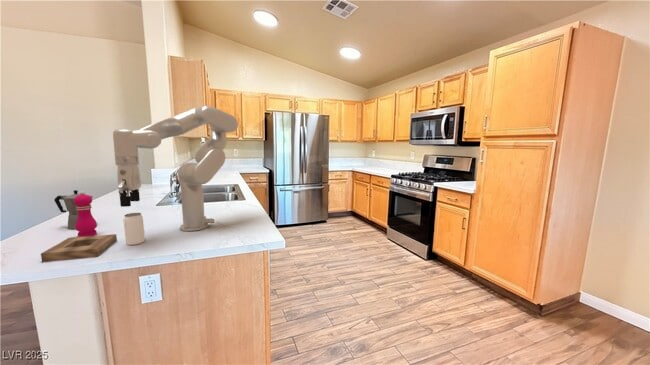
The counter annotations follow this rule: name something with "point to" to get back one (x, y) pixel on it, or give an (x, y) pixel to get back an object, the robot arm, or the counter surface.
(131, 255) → the counter surface
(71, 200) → the coffeepot
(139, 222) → the can
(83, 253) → the socket board
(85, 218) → the pepper mill
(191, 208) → the robot arm
